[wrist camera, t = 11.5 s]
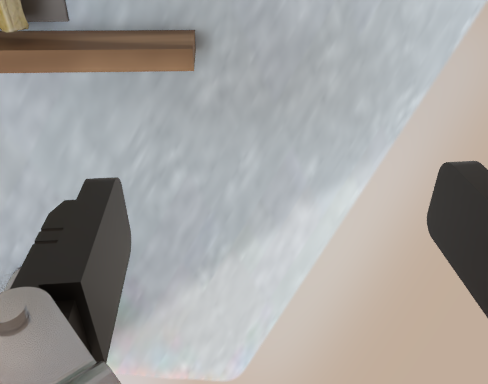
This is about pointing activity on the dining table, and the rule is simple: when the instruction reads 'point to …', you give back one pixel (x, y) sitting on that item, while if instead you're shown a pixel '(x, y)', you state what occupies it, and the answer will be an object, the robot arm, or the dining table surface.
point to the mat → (44, 10)
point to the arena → (97, 51)
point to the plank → (12, 16)
